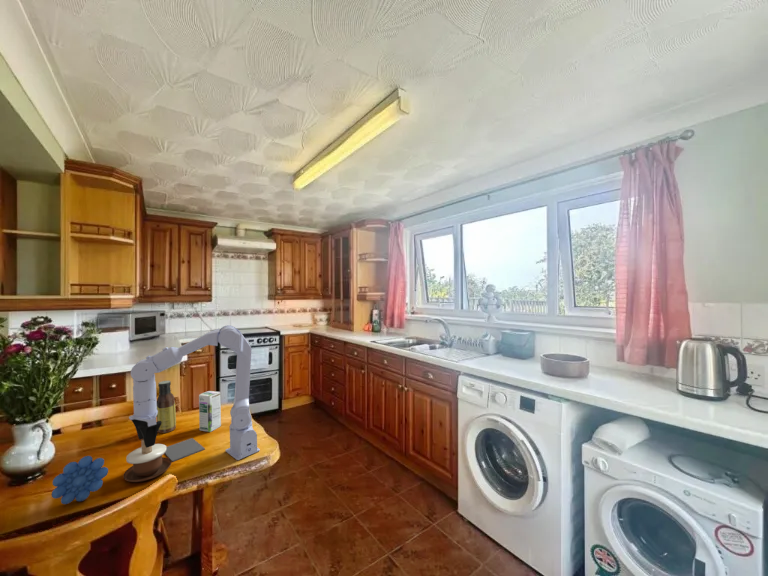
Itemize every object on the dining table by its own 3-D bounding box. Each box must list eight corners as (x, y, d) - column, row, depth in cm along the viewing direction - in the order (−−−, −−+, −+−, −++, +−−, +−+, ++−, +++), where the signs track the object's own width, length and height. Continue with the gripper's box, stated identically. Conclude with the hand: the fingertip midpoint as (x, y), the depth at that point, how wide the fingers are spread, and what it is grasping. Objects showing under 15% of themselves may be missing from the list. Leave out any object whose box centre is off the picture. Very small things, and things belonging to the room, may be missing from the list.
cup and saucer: (121, 474, 99) (120, 455, 99) (166, 458, 108) (166, 440, 108) (126, 492, 91) (125, 470, 91) (175, 473, 100) (175, 454, 99)
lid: (171, 452, 100) (170, 437, 100) (131, 467, 92) (131, 451, 92) (160, 443, 106) (159, 428, 106) (122, 456, 99) (121, 441, 98)
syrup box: (198, 430, 128) (197, 394, 127) (210, 424, 133) (209, 389, 133) (210, 432, 126) (209, 396, 126) (221, 426, 132) (220, 391, 131)
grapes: (113, 485, 94) (111, 444, 94) (106, 498, 88) (105, 455, 88) (59, 498, 88) (57, 456, 88) (48, 514, 82) (46, 468, 82)
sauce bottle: (165, 426, 132) (163, 379, 131) (179, 426, 131) (178, 379, 131) (153, 434, 125) (151, 384, 125) (168, 434, 125) (166, 384, 124)
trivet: (204, 449, 113) (204, 448, 113) (172, 461, 106) (172, 460, 106) (192, 438, 121) (192, 437, 121) (161, 449, 113) (161, 448, 113)
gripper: (123, 397, 101) (125, 439, 101) (135, 408, 91) (136, 455, 92) (150, 391, 106) (151, 431, 106) (163, 401, 97) (165, 445, 97)
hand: (146, 442), depth 99 cm, fingers open, 7 cm apart
